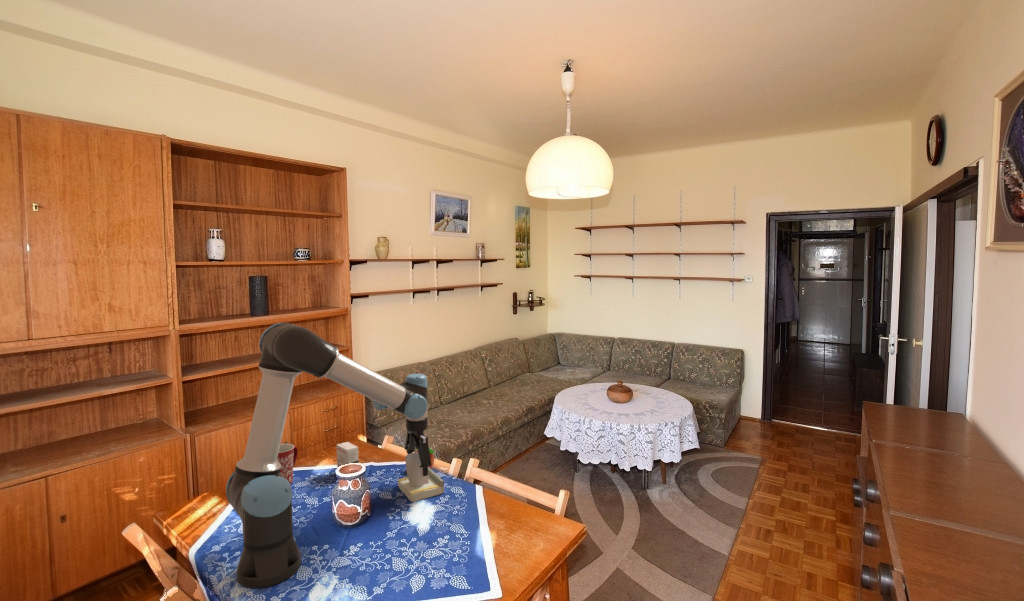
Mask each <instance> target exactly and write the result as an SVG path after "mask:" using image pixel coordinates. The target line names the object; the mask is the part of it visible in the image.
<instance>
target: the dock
mask: <svg viewBox="0 0 1024 601" xmlns="http://www.w3.org/2000/svg"><path fill="white" fill-rule="evenodd" d="M428 479H429V483H428V484H424V485H422V486H419V487H413V486H411V485H410V483H409V480H408V476H407V477H402V478H398V479H397V487H398V486H399V487H398V489H400V491H401V492H402V491H403V492H404V493H403V494H404V495H405V497H407V499H408V500H409V501H410V502H411V503H413V502H417V501H419V500H421V501H422V500H424V499H429V498H431V497H435V496H439V495H442V493H443V494H444V493H445V481H444V479H443V478H442V477H440V476H439V475H438V474H437V473H436V472H435V471H434V470H432V468H431V469H430V468H429V467H428Z"/></svg>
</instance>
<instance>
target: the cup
mask: <svg viewBox="0 0 1024 601" xmlns="http://www.w3.org/2000/svg"><path fill="white" fill-rule="evenodd" d="M407 454H408V453H407ZM407 454H406V455H405V457H404V458H405V470H406V476H407V477H408V480H409V483H410V485H411V486H413V487H419V486H422V485H420V467H419V466H420V465H421V462H420V458H419V453H418V452H413V453H410V454H408V455H407Z"/></svg>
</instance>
